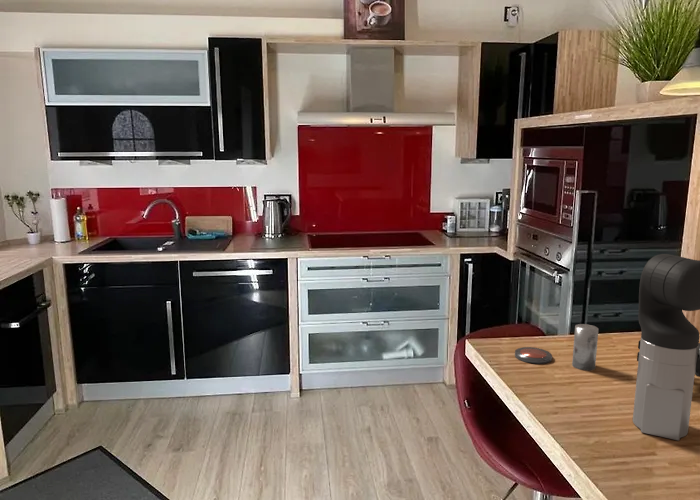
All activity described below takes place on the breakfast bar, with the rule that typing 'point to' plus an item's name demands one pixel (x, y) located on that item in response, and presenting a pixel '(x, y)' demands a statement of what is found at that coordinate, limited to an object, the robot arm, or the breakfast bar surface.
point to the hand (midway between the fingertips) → (637, 350)
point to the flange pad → (533, 355)
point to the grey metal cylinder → (585, 347)
